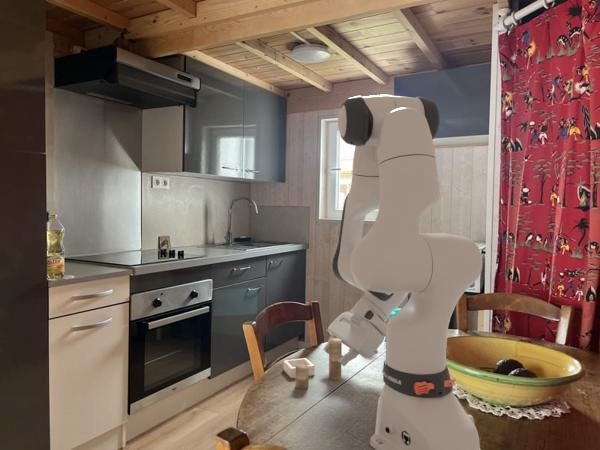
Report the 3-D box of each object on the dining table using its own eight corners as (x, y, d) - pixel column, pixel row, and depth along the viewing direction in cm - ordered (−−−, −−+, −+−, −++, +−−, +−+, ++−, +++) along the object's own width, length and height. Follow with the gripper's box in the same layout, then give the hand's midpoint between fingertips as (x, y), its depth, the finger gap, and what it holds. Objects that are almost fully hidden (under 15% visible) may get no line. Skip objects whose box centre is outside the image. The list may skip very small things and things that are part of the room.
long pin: (343, 379, 114) (343, 341, 114) (331, 381, 113) (332, 342, 112) (338, 375, 117) (338, 337, 117) (327, 376, 116) (327, 338, 115)
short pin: (310, 388, 108) (310, 368, 108) (298, 390, 107) (298, 369, 107) (305, 383, 111) (305, 364, 111) (293, 385, 110) (293, 365, 110)
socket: (314, 375, 117) (314, 365, 117) (291, 378, 115) (291, 368, 115) (305, 366, 123) (305, 357, 123) (283, 369, 121) (283, 360, 121)
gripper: (342, 301, 126) (310, 338, 123) (379, 317, 107) (341, 362, 104) (356, 315, 128) (325, 352, 125) (395, 334, 109) (358, 379, 106)
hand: (333, 357), depth 114 cm, fingers open, 8 cm apart
